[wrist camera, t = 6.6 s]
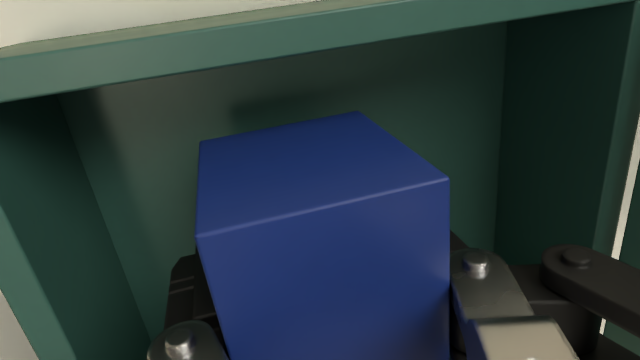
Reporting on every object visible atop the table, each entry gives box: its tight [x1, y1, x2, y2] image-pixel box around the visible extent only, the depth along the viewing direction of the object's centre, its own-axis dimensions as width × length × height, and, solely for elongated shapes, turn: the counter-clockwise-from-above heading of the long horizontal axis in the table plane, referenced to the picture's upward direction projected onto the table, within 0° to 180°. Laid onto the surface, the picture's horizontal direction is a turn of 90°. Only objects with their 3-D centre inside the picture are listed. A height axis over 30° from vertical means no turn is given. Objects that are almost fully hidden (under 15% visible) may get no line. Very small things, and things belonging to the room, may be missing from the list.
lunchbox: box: [0, 0, 640, 360], centre depth 14 cm, size 17×13×6 cm
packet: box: [194, 111, 450, 360], centre depth 11 cm, size 4×7×5 cm, turn 7°
